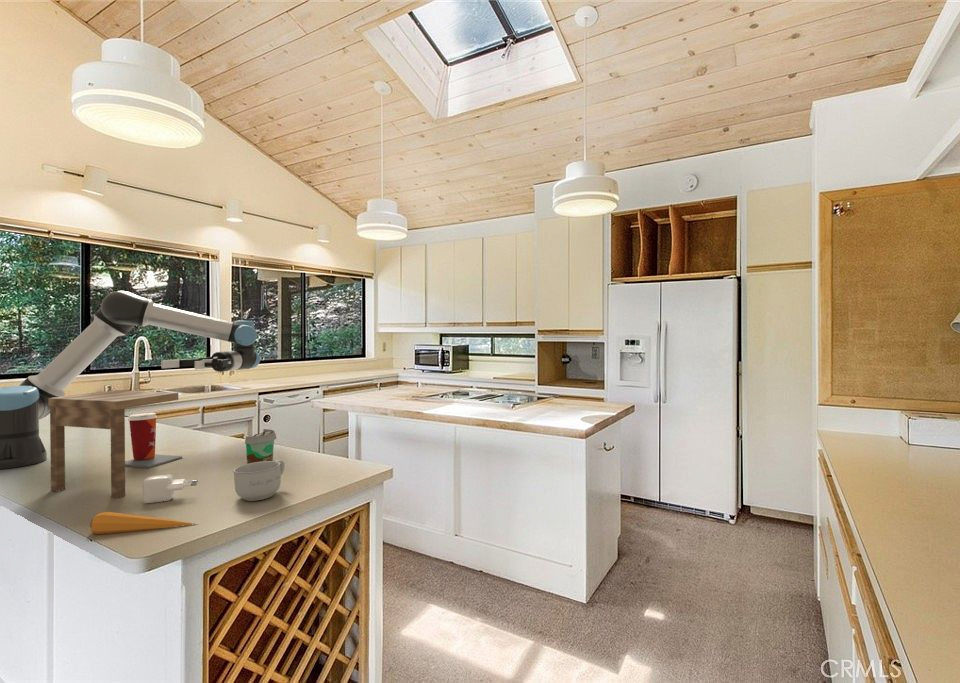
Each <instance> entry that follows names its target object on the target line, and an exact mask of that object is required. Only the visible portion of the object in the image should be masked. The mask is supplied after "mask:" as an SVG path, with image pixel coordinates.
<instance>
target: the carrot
mask: <svg viewBox="0 0 960 683" xmlns="http://www.w3.org/2000/svg"><path fill="white" fill-rule="evenodd" d="M192 524H195V523H192V522H189V521H183V520H177V519H176V520H175V519H170V518H162V517H161V518H160V517H153V516H152V517H151V516H145V515H137V514H136V515H135V514H128V513H120V512H111V511H104V512H103V511H102V512H99V513H97V514H96V515H95V516H94V518H92V519H91V521H90V524H89V527H90V531H91V532H92V534H95V535H105V534H106V535H107V534H115V533H116V534H117V533H119V534H120V533H127V532H128V533H129V532H139V531H147V530H149V531H150V530H151V529H152V530H160V529H159V528H163V529H169V528H168V527H173V528H176V527H175V526H182V525H191V526H193V525H192ZM182 527H183V526H182Z"/></svg>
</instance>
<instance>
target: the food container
mask: <svg viewBox="0 0 960 683" xmlns="http://www.w3.org/2000/svg"><path fill="white" fill-rule="evenodd" d="M276 439H277V433H276V432H275V430H273V429H269V428H268V429H267V428H263V430H262V432H260V433H257V434H254V435H253V436H245V439H244V445H245V448H246V451H245V452H246V464H249V463H254V462H261V461H274V460H273V459H274V458H273V456H274V446H275V440H276Z"/></svg>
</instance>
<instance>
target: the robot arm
mask: <svg viewBox="0 0 960 683" xmlns="http://www.w3.org/2000/svg"><path fill="white" fill-rule="evenodd" d="M136 326H138V327H146V326H153V327H157V328H163V329H167V330H172V331H177V332H181V333H185V334H190V335H196V336H199V337H200V336H201V337H205V338H210V339H214V340H218V341H224V342H228V343H233V350H227V351H226V350H225V351H215V353H213V354H212V355H211V356H206V357H198V358H180V359H176V358H173V359H163V360H160V361H161V364H160V365H161V366H160V367H161V369H172V368H175V369H176V370H177V369H179V368H180V367H194V370H204V369H206V370H207V369H212V370H213V371H215V372H217V373H219V372H220V373H221V372H230V373H233V371H240V370H250V369H254V368H256V367H258V366H259V364H260V362H261V356H260V353H259V352H258V351H257V350H255V342H256V340H257V338H258V333H257V330H256V329H255V323H254V321H252V320H235V321H230V320H226V319H222V318H218V317H213V316H209V315H204V314H200V313H197V312H192V311H188V310H182V309H179V308H176V307H175V308H174V307H170V306H165V305H162V304H157V303H155V302H154V301H153V300H152V299H149V298H146V297H143V296H140V295H138V294H135V293H133V292H130V291H125V290H117V291H112V292H110V293H108V294H107V295H105V297H104V298H103V299H102V301H101V304H100V307H99V309H97V311H95V312H94V313H93V321H92V322H91V323H90V324H89V325H88V326H87V327H86V328H85V329H84V330H83V331H82V332H80V334H78V336H76V337H75V338H74V340H72V341H71V342H70V344H68V345H67V346H66V347H65V348H64V349H63V350H62V351H61V352H60V353H59V354H58V355H57V356H56V357H55V358H54V359H53V360H52V361H51V362H50V363H48V365H46V366H45V367H44V368H43V369H42V370H41V371H40V372H39V373H38V374H36V375H29V376H28V377H27V378H25V379H24V380H23V381H22V382H21V383H20V384H19V385H13V386H11V385H10V386H3V387H0V470H4V469H12V468H13V469H14V468H21V467H26V466H31V465H35V464H39V463H41V462H44V461H46V460H47V456H48V455H47V454H48V452H47V450H46V448H45V446H44V444H43V441H42V439H41V437H40V420H42V419H43V418H46V417H47V416H49V415H50V406H49V404H48V398H54V397H63V396H66V394H65V389H66V388H67V387H68V386H70V384H72V382H73V381H74V380H75V379H77V378H78V376H80V374H81V373H82V372H84V370H86V368H87V367H88V366H89V365H90V364H91V363H92V362H93V361H94V360H95V359H96V358H97V357H98V356H100V355H101V354H102V352H104V350H106V349H107V347H109V345H110V344H112V343H113V342H114V341H115V339H117V337H122V336H126V335H127V334H128V333H130V331H132V329H133V328H134V327H136Z"/></svg>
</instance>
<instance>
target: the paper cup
mask: <svg viewBox="0 0 960 683" xmlns="http://www.w3.org/2000/svg"><path fill="white" fill-rule="evenodd" d="M157 418H158V416H157V414H156V412H146V413H144V412H143V413H136V414H135V413H133V414H130V415H129V418H128V419H127V421H128V423H129V429H130V431H129V432H130V439H131V440H130V441H131V451H132V456H133V457H132V459H134V460H145V459H151V458H154V457H155V454H156V437H157V435H156V434H157Z"/></svg>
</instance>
